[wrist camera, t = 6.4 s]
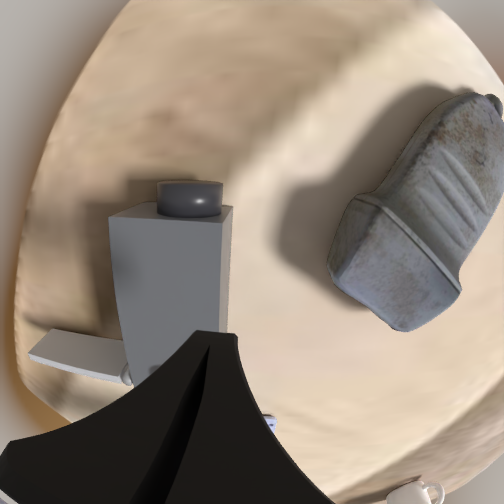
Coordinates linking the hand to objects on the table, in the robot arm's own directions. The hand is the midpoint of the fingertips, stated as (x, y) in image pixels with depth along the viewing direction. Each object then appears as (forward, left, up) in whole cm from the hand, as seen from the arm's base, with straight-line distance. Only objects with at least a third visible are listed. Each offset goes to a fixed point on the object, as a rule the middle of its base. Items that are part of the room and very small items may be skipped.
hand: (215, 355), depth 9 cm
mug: (-45, -35, -11) cm, 58 cm away
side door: (-9, +12, -10) cm, 18 cm away
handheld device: (+6, -14, -11) cm, 19 cm away
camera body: (-3, +4, -10) cm, 11 cm away
